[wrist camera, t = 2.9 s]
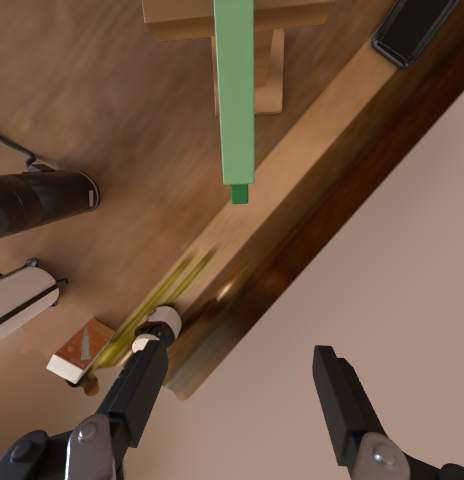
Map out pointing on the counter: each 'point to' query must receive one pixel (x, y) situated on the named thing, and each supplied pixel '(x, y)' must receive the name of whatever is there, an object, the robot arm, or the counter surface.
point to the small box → (81, 350)
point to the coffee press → (25, 295)
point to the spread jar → (157, 327)
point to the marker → (236, 93)
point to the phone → (410, 29)
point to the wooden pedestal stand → (265, 37)
